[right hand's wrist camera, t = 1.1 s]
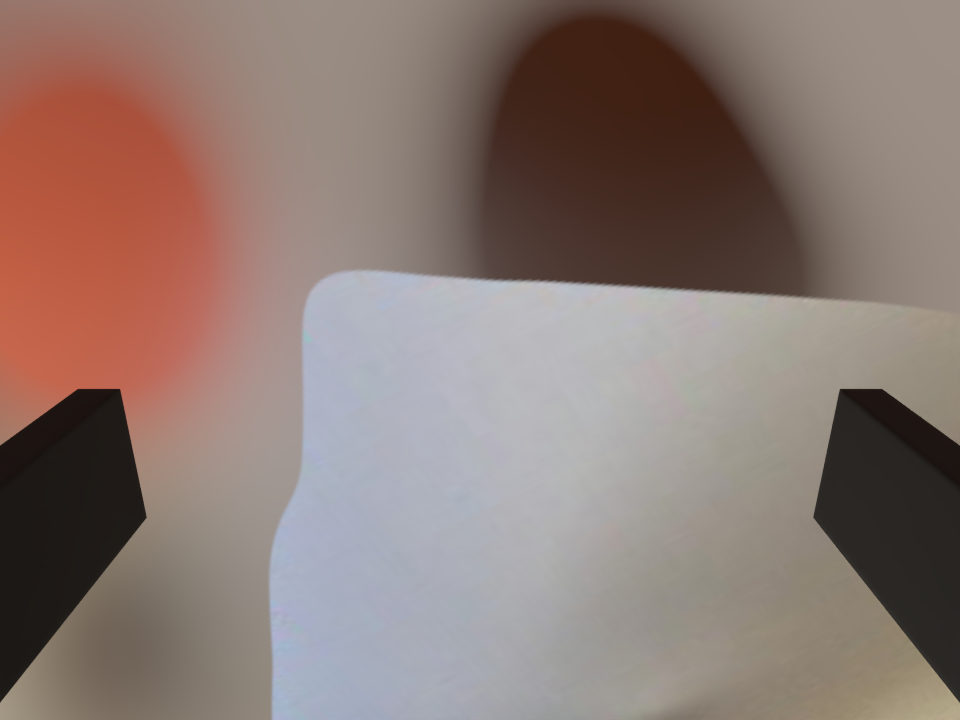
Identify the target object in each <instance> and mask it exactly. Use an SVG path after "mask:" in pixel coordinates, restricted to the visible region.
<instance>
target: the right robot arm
mask: <svg viewBox="0 0 960 720" xmlns="http://www.w3.org/2000/svg"><path fill="white" fill-rule="evenodd" d="M146 518H147V517H146V512H145V507H144V502H143V497H142V493H141V488H140V483H139V478H138V473H137V468H136V464H135V459H134V454H133V449H132V444H131V440H130V435H129V430H128V425H127V420H126V415H125V411H124V406H123V401H122V396H121V391H120V389H77V390H76V391H75V392H73V393H72V394H71V395H69V396H68V397H66V398H65V399H64V400H62V401H61V402H60V403H58V404H57V405H55V406H54V407H53V408H51V409H50V410H49V411H47V412H46V413H44V414H43V415H42V416H40V417H39V418H38V419H36V420H35V421H33V422H32V423H31V424H29V425H28V426H27V427H25V428H24V429H22V430H21V431H20V432H18V433H17V434H16V435H14V436H13V437H11V438H10V439H9V440H7V441H6V442H5V443H3V444H2V445H0V702H1V701H2V700H3V698H4V697H5V696H6V695H7V693H8V692H9V691H10V689H11V688H12V687H13V686H14V684H15V683H16V682H17V681H18V679H19V678H20V677H21V676H22V674H23V673H24V672H25V670H26V669H27V668H28V667H29V665H30V664H31V663H32V662H33V660H34V659H35V658H36V657H37V655H38V654H39V653H40V652H41V650H42V649H43V648H44V647H45V645H46V644H47V643H48V642H49V640H50V639H51V638H52V636H53V635H54V634H55V633H56V631H57V630H58V629H59V628H60V626H61V625H62V624H63V623H64V621H65V620H66V619H67V618H68V616H69V615H70V614H71V612H72V611H73V610H74V609H75V607H76V606H77V605H78V604H79V602H80V601H81V600H82V599H83V597H84V596H85V595H86V594H87V592H88V591H89V590H90V588H91V587H92V586H93V585H94V583H95V582H96V581H97V580H98V578H99V577H100V576H101V575H102V573H103V572H104V571H105V569H106V568H107V567H108V566H109V564H110V563H111V562H112V561H113V559H114V558H115V557H116V556H117V554H118V553H119V552H120V551H121V549H122V548H123V547H124V546H125V544H126V543H127V542H128V540H129V539H130V538H131V537H132V535H133V534H134V533H135V532H136V530H137V529H138V528H139V527H140V525H141V524H142V523H143V522H144V520H145V519H146ZM813 518H814V519H815V520H816V522H817V523H818V524H819V525H820V527H821V528H822V529H823V530H824V532H825V533H826V534H827V535H828V537H829V538H830V539H831V540H832V542H833V543H834V544H835V546H836V547H837V548H838V549H839V551H840V552H841V553H842V554H843V556H844V557H845V558H846V559H847V561H848V562H849V563H850V564H851V566H852V567H853V568H854V570H855V571H856V572H857V573H858V575H859V576H860V577H861V578H862V580H863V581H864V582H865V583H866V585H867V586H868V587H869V588H870V590H871V591H872V592H873V594H874V595H875V596H876V597H877V599H878V600H879V601H880V602H881V604H882V605H883V606H884V607H885V609H886V610H887V611H888V612H889V614H890V615H891V616H892V618H893V619H894V620H895V621H896V623H897V624H898V625H899V626H900V628H901V629H902V630H903V631H904V633H905V634H906V635H907V636H908V638H909V639H910V640H911V642H912V643H913V644H914V645H915V647H916V648H917V649H918V650H919V652H920V653H921V654H922V655H923V657H924V658H925V659H926V660H927V662H928V663H929V664H930V665H931V667H932V668H933V669H934V671H935V672H936V673H937V674H938V676H939V677H940V678H941V679H942V681H943V682H944V683H945V684H946V686H947V687H948V688H949V689H950V691H951V692H952V693H953V695H954V696H955V697H956V698H957V700H958V701H959V702H960V445H958V444H957V443H955V442H954V441H953V440H951V439H950V438H949V437H947V436H946V435H944V434H943V433H942V432H940V431H939V430H938V429H936V428H935V427H933V426H932V425H931V424H929V423H928V422H927V421H925V420H924V419H922V418H921V417H920V416H918V415H917V414H916V413H914V412H913V411H911V410H910V409H909V408H907V407H906V406H905V405H903V404H902V403H900V402H899V401H898V400H896V399H895V398H894V397H892V396H891V395H889V394H888V393H887V392H885V391H884V390H883V389H840V391H839V396H838V401H837V406H836V411H835V415H834V420H833V425H832V430H831V435H830V439H829V444H828V449H827V454H826V459H825V464H824V468H823V473H822V478H821V483H820V488H819V493H818V497H817V502H816V507H815V512H814V517H813Z"/></svg>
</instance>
